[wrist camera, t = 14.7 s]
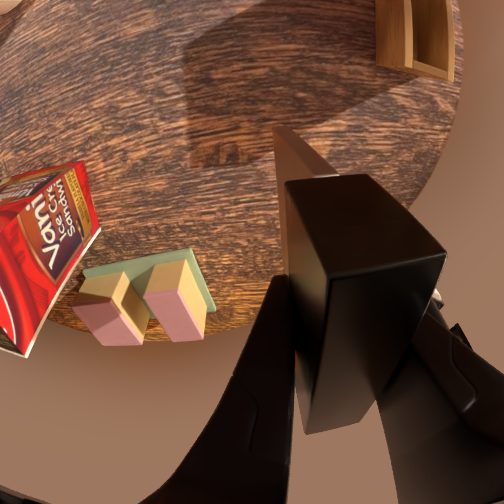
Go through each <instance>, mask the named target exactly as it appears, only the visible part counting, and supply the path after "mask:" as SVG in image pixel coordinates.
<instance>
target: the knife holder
mask: <svg viewBox="0 0 504 504" xmlns="http://www.w3.org/2000/svg"><path fill="white" fill-rule="evenodd" d="M374 4H375V32H376V55H375V65H377V66H382V67H386V68H390V69H394V70H398V71H402V72H406V73H410V74H413V75H417V76H420V77H426V78H432V79H437V80H442V81H447V82H452V83H453V80H454V22H453V10H452V0H374Z"/></svg>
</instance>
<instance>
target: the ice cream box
mask: <svg viewBox="0 0 504 504" xmlns="http://www.w3.org/2000/svg"><path fill="white" fill-rule="evenodd" d="M100 231H101V228H100V224H99V221H98V217H97V214H96V210H95V206H94V203H93V199H92V195H91V190H90V186H89V182H88V177H87V173H86V168H85V163H84V160H83V161H78V162H72V163H67V164H62V165H57V166H53V167H48V168H44V169H39V170H35V171H31V172H27V173H23V174H19V175H16V176H12V177H9V178H5V179H2V180H0V349H1V350H4V351H7V352H10V353H13V354H15V355H18V356H22V357H24V358H27V357H28V355H29V353H30V351H31V348H32V346H33V344H34V342H35V340H36V338H37V336H38V333H39V331H40V329H41V327H42V325H43V324H44V322H45V320H46V318H47V316H48V314H49V312H50V310H51V308H52V307H53V305H54V303H55V301H56V299H57V298H58V296H59V294H60V292H61V291H62V289H63V287H64V285H65V284H66V282H67V280H68V279H69V277H70V276H71V274H72V272H73V271H74V269H75V268H76V266H77V264H78V263H79V261H80V260H81V258H82V257H83V255H84V254H85V252H86V251H87V249H88V248H89V246H90V245H91V243H92V242H93V240H94V239H95V238H96V236H97V235H98V233H99V232H100Z"/></svg>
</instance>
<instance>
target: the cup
mask: <svg viewBox="0 0 504 504" xmlns="http://www.w3.org/2000/svg"><path fill="white" fill-rule="evenodd" d="M21 1H22V0H0V15H2V14H6V13H8V12H9V11H11V10H12V9H13V8H15V7H16V6H17V5H18V4H19V3H20V2H21Z"/></svg>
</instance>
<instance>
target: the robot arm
mask: <svg viewBox="0 0 504 504" xmlns="http://www.w3.org/2000/svg"><path fill="white" fill-rule="evenodd" d="M443 306H444V303H443V302H442V301H440V300H438V299H436V298H434V297H432V298H431V300H430V303H429V305H428V307H427V309H426V312H425V314H424V316H423V318H422V320H421V322H420V324H419V326H418V328H417V330H416V332H415V334H414V336H413V338H412V340H411V342H410V344H409V346H408V347H407V349H406V351H405V353H404V355H403V356H402V358H401V360H400V362H399V363H398V365H397V367H396V369H395V370H394V372H393V374H392V375H391V377H390V378H389V380H388V382H387V383H386V385H385V386H384V388H383V389H382V391H381V392H380V394H379V395H378V397H377V398H376V401H377V405H378V409H379V413H380V416H381V420H382V424H383V428H384V433H385V437H386V441H387V445H388V450H389V454H390V459H391V465H392V470H393V475H394V480H395V485H396V491H397V497H398V503H399V504H504V374H503V373H501V372H500V371H499V370H497V369H496V368H495V367H493V366H492V365H490V364H489V363H488V362H487V361H485V360H484V359H483V358H481V357H480V356H479V355H478V354H476V353H475V352H474V351H473V349H472V347H471V345H470V343H469V342H468V340H467V338H466V336H465V335H464V333H463V331H462V329H461V327H460V326H459V324H458V323H457V324H455V326H454V327H452V328H451V329H449V327H448V325H447V324H446V322H445V320H444V318H443V316H442V314H441V313H440V311H439V310H440V309H441V308H442V307H443ZM295 352H296V310H295V304H294V300H293V297H292V294H291V290H290V287H289V276H288V275H287V274H282V275H275V276H273V278H272V280H271V283H270V285H269V287H268V290H267V292H266V295H265V297H264V300H263V302H262V305H261V307H260V310H259V312H258V314H257V317H256V319H255V322H254V324H253V327H252V329H251V331H250V334H249V336H248V338H247V341H246V343H245V346H244V348H243V350H242V353H241V355H240V357H239V360H238V362H237V365H236V367H235V369H234V371H233V376H231V378H230V380H229V382H228V385H227V387H226V389H225V391H224V393H223V395H222V398H221V400H220V401H219V404H218V405H217V407H216V409H215V411H214V413H213V414H212V416H211V418H210V419H209V421H208V423H207V425H206V426H205V428H204V429H203V431H202V432H201V434H200V436H199V437H198V438H197V440H196V441H195V443H194V444H193V446H192V447H191V449H190V450H189V452H188V453H187V455H186V456H185V458H184V459H183V461H182V462H181V464H180V465H179V466H178V468H177V469H176V470H175V472H174V473H173V474H172V476H171V477H170V478H169V479H168V480H167V481H166V482H165V483H164V484H163V485H162V486H161V487H160V488H159V489H157V490H156V491H155V492H154V493H152V494H151V495H149V496H148V497H147V498H146V499H144V500H142V501H141V502H140V503H138V504H287V498H288V487H289V476H290V464H291V450H292V433H293V415H294V414H293V413H294V389H295ZM0 504H50V503H47V502H45V501H42V500H39V499H36V498H33V497H30V496H27V495H24V494H21V493H19V492H16V491H14V490H11V489H8V488H6V487H4V486H1V485H0Z"/></svg>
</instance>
